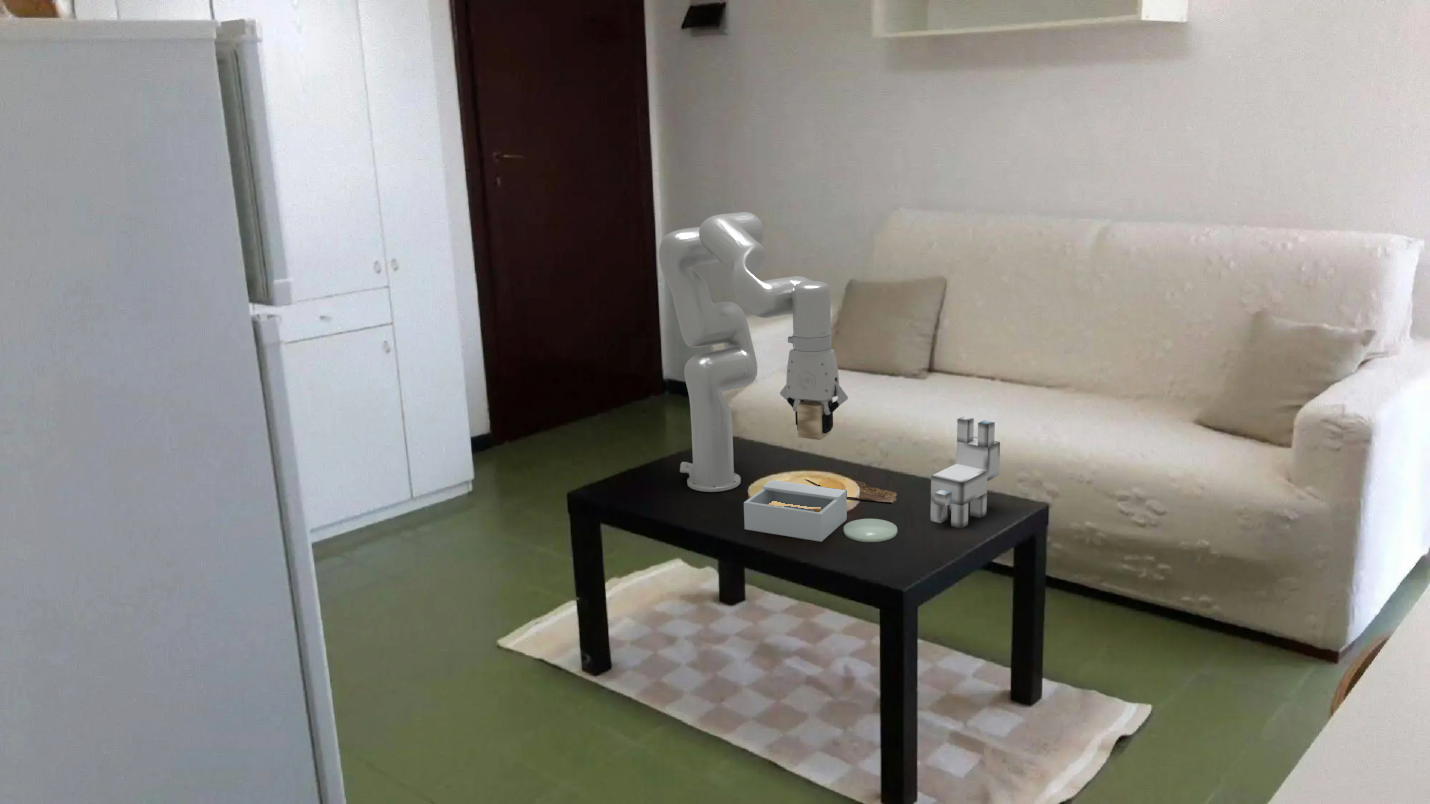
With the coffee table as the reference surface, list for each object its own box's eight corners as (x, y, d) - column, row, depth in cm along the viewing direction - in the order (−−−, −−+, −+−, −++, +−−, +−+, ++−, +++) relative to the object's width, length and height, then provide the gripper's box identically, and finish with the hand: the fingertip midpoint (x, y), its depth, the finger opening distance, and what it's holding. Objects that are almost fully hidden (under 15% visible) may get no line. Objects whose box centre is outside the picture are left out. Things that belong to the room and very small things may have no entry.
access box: (744, 529, 242) (743, 499, 241) (772, 507, 254) (771, 479, 252) (821, 541, 234) (821, 511, 232) (846, 519, 246) (846, 490, 244)
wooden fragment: (909, 498, 257) (909, 493, 257) (877, 511, 250) (877, 506, 250) (825, 473, 276) (825, 469, 276) (792, 485, 269) (792, 480, 269)
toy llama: (924, 523, 241) (925, 433, 236) (967, 500, 254) (969, 413, 248) (955, 532, 236) (956, 439, 231) (998, 507, 249) (1000, 419, 243)
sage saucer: (835, 537, 236) (835, 533, 236) (855, 519, 245) (855, 515, 245) (886, 545, 231) (886, 541, 231) (904, 526, 240) (904, 523, 240)
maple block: (798, 437, 234) (797, 404, 233) (808, 430, 239) (807, 398, 237) (820, 439, 232) (819, 406, 230) (830, 433, 236) (829, 400, 234)
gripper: (766, 344, 231) (769, 431, 236) (844, 350, 223) (845, 439, 228) (782, 337, 238) (785, 421, 242) (859, 342, 229) (860, 429, 234)
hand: (814, 429), depth 235 cm, fingers closed on maple block, 5 cm apart
